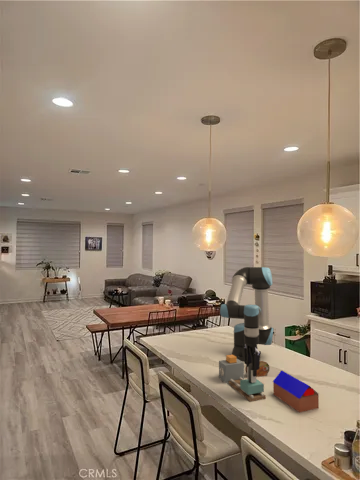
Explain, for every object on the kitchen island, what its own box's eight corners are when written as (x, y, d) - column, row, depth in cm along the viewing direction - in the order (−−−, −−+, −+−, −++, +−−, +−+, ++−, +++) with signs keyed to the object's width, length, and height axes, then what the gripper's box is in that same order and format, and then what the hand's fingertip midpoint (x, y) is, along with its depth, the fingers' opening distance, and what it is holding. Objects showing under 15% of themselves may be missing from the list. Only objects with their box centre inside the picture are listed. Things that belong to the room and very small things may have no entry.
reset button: (232, 359, 186) (232, 354, 186) (236, 362, 182) (236, 357, 182) (226, 360, 185) (226, 355, 185) (229, 363, 181) (229, 357, 181)
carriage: (240, 388, 165) (240, 363, 166) (254, 385, 168) (254, 360, 169) (248, 394, 158) (248, 368, 158) (263, 391, 161) (263, 366, 161)
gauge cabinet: (236, 375, 189) (236, 358, 189) (244, 380, 181) (243, 362, 182) (218, 378, 185) (218, 360, 185) (224, 383, 177) (224, 365, 177)
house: (291, 390, 169) (290, 368, 169) (319, 408, 150) (319, 383, 150) (272, 394, 164) (272, 372, 165) (299, 413, 146) (299, 387, 146)
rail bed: (228, 383, 177) (228, 379, 177) (242, 381, 180) (242, 376, 180) (250, 401, 156) (250, 396, 156) (265, 398, 159) (265, 393, 159)
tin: (247, 378, 184) (247, 363, 185) (244, 376, 188) (244, 361, 188) (269, 375, 189) (269, 361, 189) (267, 373, 192) (266, 359, 192)
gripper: (237, 332, 170) (237, 375, 169) (254, 340, 155) (254, 388, 154) (249, 330, 173) (249, 373, 172) (266, 338, 158) (267, 386, 157)
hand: (251, 380), depth 163 cm, fingers closed on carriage, 3 cm apart
